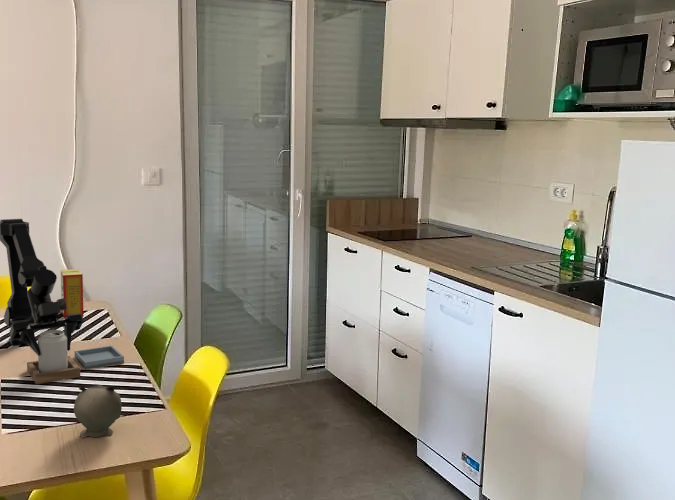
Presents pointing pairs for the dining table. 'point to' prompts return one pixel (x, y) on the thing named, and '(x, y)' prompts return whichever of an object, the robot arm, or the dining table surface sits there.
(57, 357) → the can
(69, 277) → the baking soda box
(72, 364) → the holder collar
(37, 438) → the dining table surface
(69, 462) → the dining table surface
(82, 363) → the tray
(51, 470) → the dining table surface
